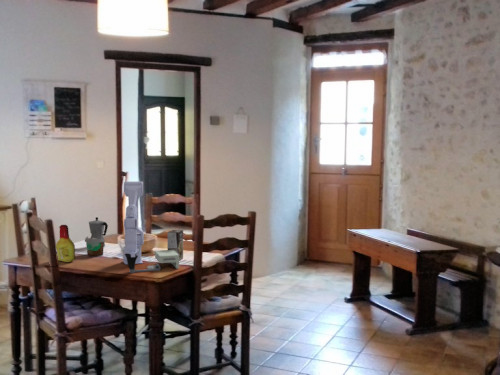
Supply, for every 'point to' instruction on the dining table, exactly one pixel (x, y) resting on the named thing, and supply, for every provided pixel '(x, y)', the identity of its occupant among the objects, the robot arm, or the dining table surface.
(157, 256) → the low cabinet
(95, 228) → the coffeepot
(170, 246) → the coffee box
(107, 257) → the dining table surface
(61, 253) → the bottle
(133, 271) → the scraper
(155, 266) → the steel token
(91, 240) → the food container
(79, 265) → the dining table surface
